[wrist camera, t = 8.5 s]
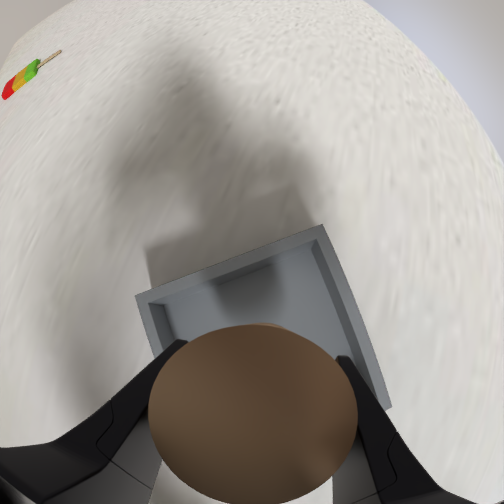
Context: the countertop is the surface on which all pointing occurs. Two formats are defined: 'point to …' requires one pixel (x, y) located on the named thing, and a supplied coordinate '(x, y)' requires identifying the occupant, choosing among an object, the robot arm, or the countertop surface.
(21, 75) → the popsicle
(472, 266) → the countertop surface
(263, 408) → the walnut cylinder
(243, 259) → the tote
